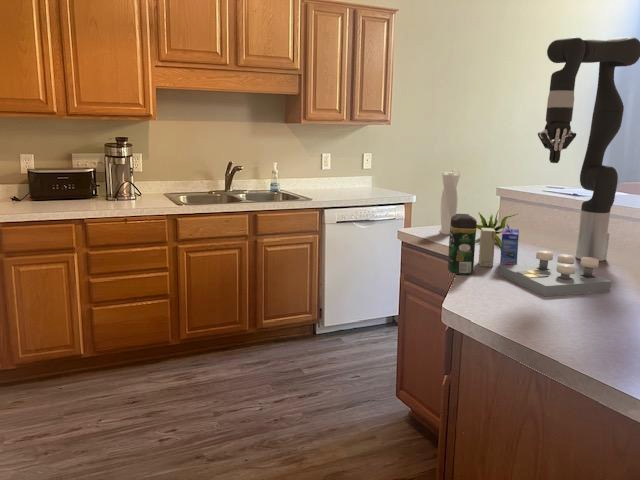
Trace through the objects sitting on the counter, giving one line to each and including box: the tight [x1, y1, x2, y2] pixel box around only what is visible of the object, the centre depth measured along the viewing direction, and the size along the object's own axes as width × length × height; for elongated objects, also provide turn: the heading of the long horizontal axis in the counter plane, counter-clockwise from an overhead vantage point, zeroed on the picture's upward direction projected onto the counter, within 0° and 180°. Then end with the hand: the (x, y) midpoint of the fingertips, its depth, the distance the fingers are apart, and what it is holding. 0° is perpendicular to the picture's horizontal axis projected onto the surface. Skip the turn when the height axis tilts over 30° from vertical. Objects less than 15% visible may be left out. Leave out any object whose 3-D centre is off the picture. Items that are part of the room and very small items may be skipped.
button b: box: [579, 257, 600, 276], centre depth 165 cm, size 5×5×5 cm
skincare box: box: [478, 228, 497, 268], centre depth 187 cm, size 6×4×12 cm
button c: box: [535, 250, 554, 269], centre depth 172 cm, size 5×5×5 cm
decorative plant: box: [475, 209, 518, 248], centre depth 219 cm, size 18×30×15 cm, turn 146°
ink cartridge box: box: [499, 223, 520, 270], centre depth 185 cm, size 10×6×14 cm, turn 161°
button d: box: [557, 264, 576, 280], centre depth 163 cm, size 5×5×5 cm
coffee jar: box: [447, 213, 478, 276], centre depth 177 cm, size 10×8×19 cm
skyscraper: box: [439, 168, 461, 236], centre depth 237 cm, size 8×8×28 cm
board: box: [499, 262, 612, 297], centre depth 168 cm, size 22×22×3 cm
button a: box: [556, 253, 576, 265], centre depth 174 cm, size 5×5×5 cm
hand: (554, 162), depth 175 cm, fingers closed
